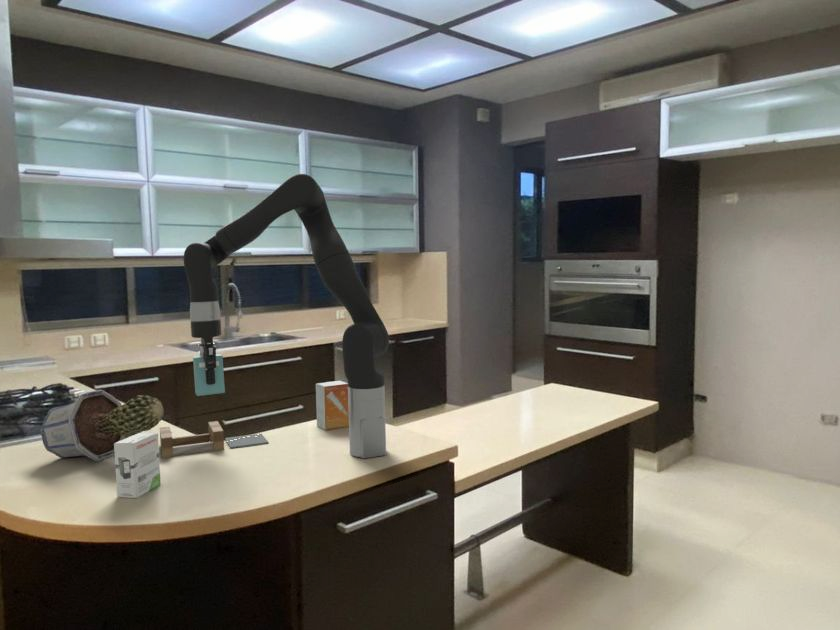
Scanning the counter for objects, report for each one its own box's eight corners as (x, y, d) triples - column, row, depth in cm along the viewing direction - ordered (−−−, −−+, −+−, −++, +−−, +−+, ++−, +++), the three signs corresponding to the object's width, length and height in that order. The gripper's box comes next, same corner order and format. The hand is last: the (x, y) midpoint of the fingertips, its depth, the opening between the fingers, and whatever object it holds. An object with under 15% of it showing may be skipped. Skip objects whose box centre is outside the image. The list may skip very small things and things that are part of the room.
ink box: (142, 483, 137) (139, 431, 136) (162, 484, 136) (159, 432, 135) (116, 497, 129) (112, 442, 128) (137, 498, 128) (133, 443, 127)
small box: (325, 430, 179) (324, 386, 178) (316, 426, 184) (315, 383, 183) (350, 426, 183) (349, 383, 182) (340, 422, 189) (339, 380, 188)
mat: (268, 443, 167) (268, 441, 167) (230, 448, 163) (230, 447, 163) (261, 434, 176) (261, 433, 176) (225, 439, 172) (224, 438, 172)
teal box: (225, 392, 164) (222, 355, 163) (197, 396, 161) (194, 358, 160) (222, 390, 167) (220, 353, 167) (195, 393, 164) (192, 356, 164)
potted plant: (22, 408, 151) (126, 380, 144) (77, 396, 168) (172, 371, 162) (38, 477, 150) (143, 453, 144) (92, 458, 168) (188, 436, 162)
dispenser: (224, 449, 162) (223, 430, 162) (162, 457, 156) (161, 438, 155) (218, 438, 173) (217, 420, 172) (160, 445, 167) (159, 427, 166)
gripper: (224, 319, 158) (228, 385, 159) (216, 316, 171) (220, 378, 172) (193, 321, 155) (198, 388, 156) (187, 318, 167) (191, 381, 169)
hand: (209, 382), depth 164 cm, fingers closed on teal box, 4 cm apart
